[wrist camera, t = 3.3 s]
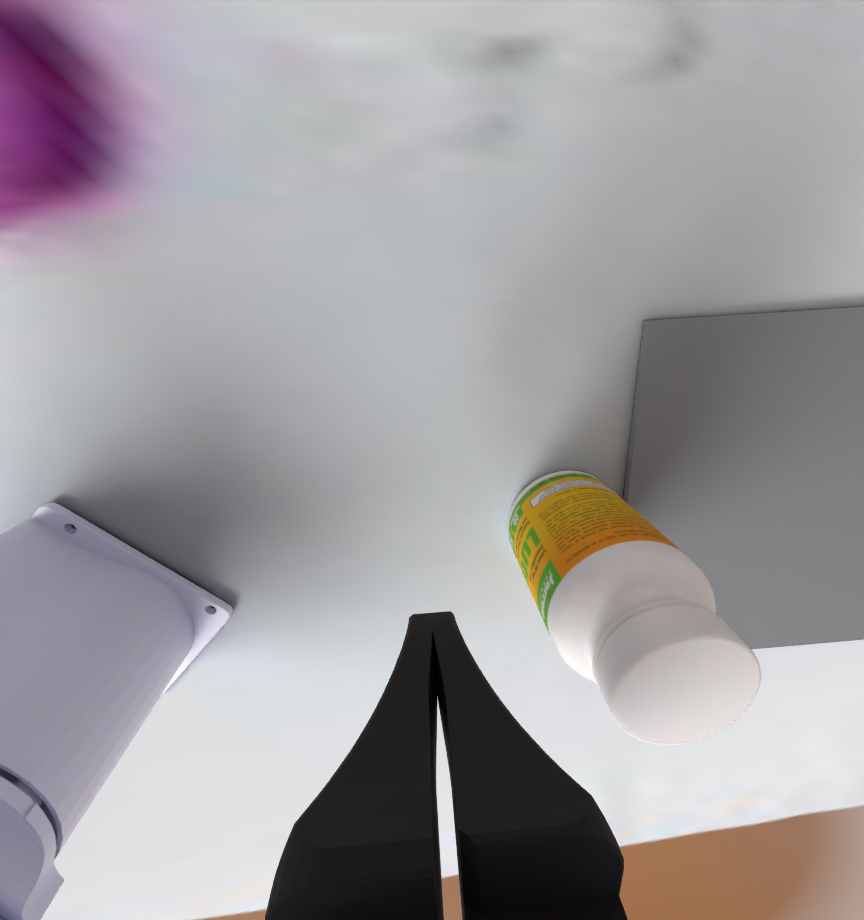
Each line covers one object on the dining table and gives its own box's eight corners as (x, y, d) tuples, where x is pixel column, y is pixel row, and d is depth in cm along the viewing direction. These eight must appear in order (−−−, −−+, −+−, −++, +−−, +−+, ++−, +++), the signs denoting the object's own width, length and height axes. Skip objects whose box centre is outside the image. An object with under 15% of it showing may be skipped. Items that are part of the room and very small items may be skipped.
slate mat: (605, 656, 23) (608, 661, 23) (643, 320, 17) (648, 320, 16) (878, 632, 23) (885, 637, 23) (1014, 296, 17) (1028, 296, 17)
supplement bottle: (492, 488, 19) (567, 649, 10) (604, 452, 19) (788, 584, 10) (520, 578, 21) (605, 785, 12) (622, 547, 21) (791, 734, 11)
